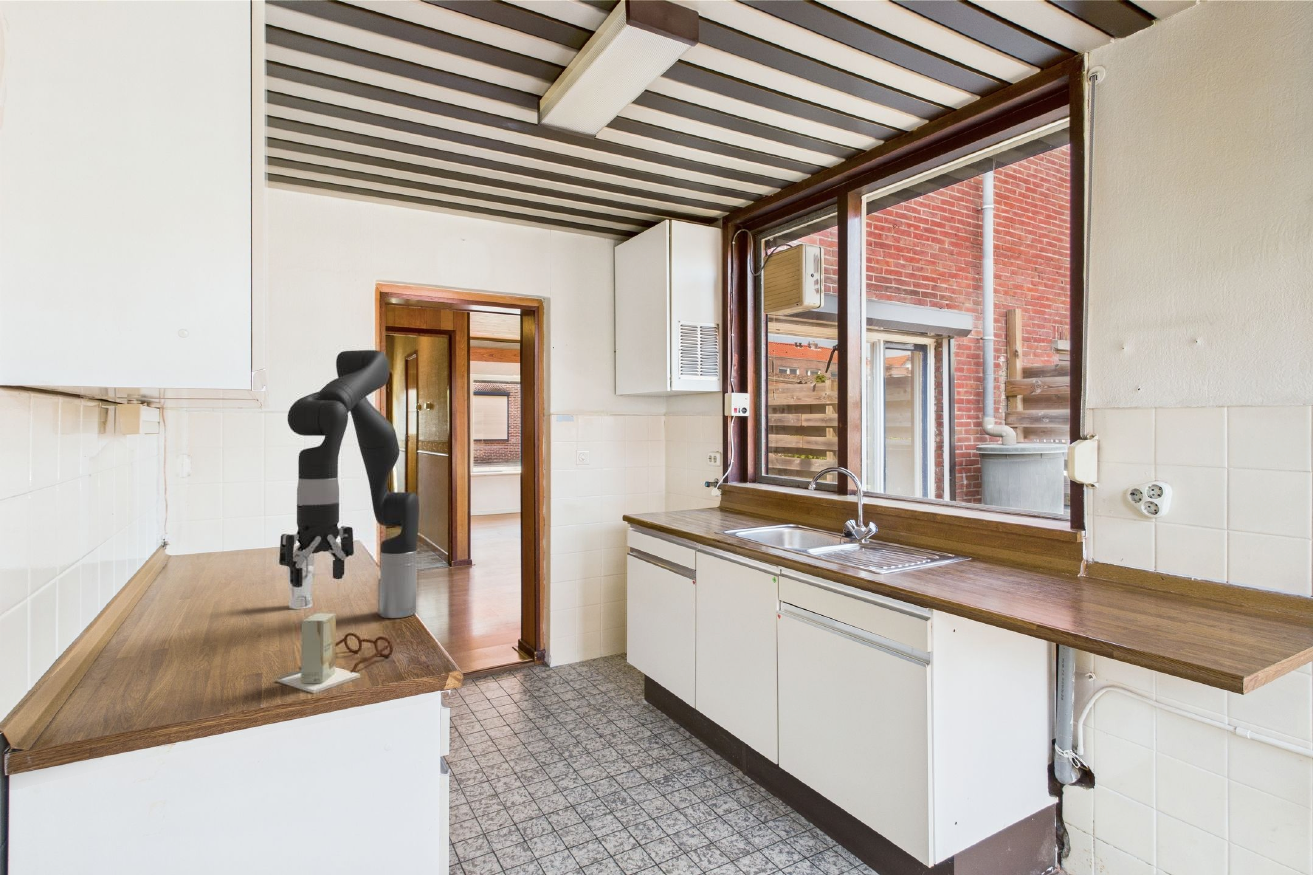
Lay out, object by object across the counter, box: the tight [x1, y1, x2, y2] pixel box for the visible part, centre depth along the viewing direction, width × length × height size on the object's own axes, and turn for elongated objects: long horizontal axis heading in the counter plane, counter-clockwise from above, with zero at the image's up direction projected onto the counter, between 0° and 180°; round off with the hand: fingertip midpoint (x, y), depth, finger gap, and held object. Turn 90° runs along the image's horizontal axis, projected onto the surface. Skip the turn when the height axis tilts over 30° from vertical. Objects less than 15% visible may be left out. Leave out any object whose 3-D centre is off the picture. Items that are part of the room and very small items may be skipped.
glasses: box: [335, 632, 394, 673], centre depth 145 cm, size 13×13×5 cm
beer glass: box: [286, 552, 316, 610], centre depth 192 cm, size 7×7×15 cm
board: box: [276, 666, 361, 694], centre depth 136 cm, size 12×10×1 cm
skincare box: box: [300, 613, 337, 683], centre depth 134 cm, size 6×4×12 cm
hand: (317, 582), depth 134 cm, fingers open, 8 cm apart
